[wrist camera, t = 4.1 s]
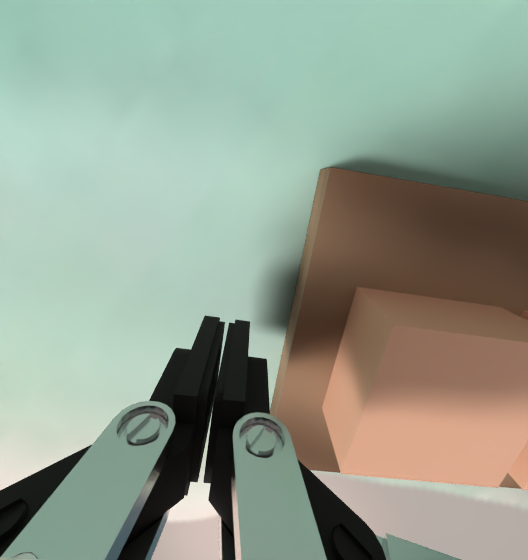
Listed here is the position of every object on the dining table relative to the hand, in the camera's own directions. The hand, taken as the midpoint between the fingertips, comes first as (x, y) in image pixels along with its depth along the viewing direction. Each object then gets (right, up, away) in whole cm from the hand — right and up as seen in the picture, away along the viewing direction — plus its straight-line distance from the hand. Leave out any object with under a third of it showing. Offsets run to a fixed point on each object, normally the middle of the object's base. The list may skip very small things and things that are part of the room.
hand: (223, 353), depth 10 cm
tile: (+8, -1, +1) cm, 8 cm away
